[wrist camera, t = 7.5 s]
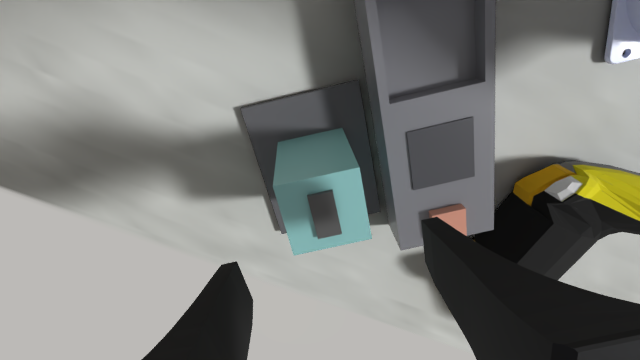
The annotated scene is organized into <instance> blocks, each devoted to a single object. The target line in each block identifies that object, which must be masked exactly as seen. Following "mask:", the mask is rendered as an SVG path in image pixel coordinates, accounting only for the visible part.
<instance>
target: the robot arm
mask: <svg viewBox="0 0 640 360" xmlns="http://www.w3.org/2000/svg"><path fill="white" fill-rule="evenodd" d="M624 50H625V54H624V55H623V56H622V53H623V51H624ZM639 58H640V0H613V2H612V8H611V15H610V22H609V29H608V36H607V43H606V50H605V61H606V62H607V63H610V64H618V63H622V62H626V61H630V60H635V59H639ZM421 225H422V234H423V244H424V253H425V262H426V265H427V267H428V269H429V272H430V274H431V276H432V279H433V281H434V283H435V286H436V287H437V289H438V291H439V293H440V294H441V296H442V298H443V299H444V301H445V303H446V305H447V306H448V308H449V310H450V311H451V313H452V315H453V317H454V318H455V320H456V322H457V323H458V325H459V327H460V328H461V330H462V332H463V334H464V335H465V337H466V339H467V341H468V343H469V345H470V346H471V348H472V350H473V353H474V355H475V357H476V359H477V360H640V304H637V303H633V302H629V301H625V300H620V299H616V298H612V297H608V296H604V295H601V294H598V293H594V292H591V291H587V290H584V289H581V288H578V287H575V286H572V285H568V284H565V283H563V282H560V281H557V280H555V279H552V278H549V277H546V276H544V275H541V274H539V273H536V272H534V271H532V270H529V269H527V268H525V267H523V266H520V265H518V264H516V263H514V262H512V261H510V260H508V259H506V258H504V257H502V256H500V255H498V254H496V253H494V252H492V251H491V250H489V249H487V248H485V247H483V246H482V245H480V244H478V243H477V242H475V241H473V240H472V239H470V238H469V237H467V236H466V235H464V234H462V233H461V232H459V231H458V230H456V229H455V228H453V227H452V226H450V225H449V224H447V223H446V222H444V221H443V220H441V219H440V218H438V217H433V218H429V219H424V220H421ZM252 319H253V299H252V296H251V294H250V292H249V289H248V287H247V285H246V283H245V280H244V277H243V275H242V273H241V270H240V268H239V266H238V263H237V261H236V262H232V263H227V264H223V265H221V266H220V267H219V269H218V270H217V271H216V273H215V274H214V275H213V277H212V278H211V279H210V281H209V282H208V284H207V285H206V286H205V288H204V289H203V290H202V292H201V293H200V294H199V296H198V297H197V298H196V300H195V301H194V302H193V303H192V305H191V306H190V307H189V309H188V310H187V311H186V312H185V313H184V315H183V316H182V317H181V318H180V319H179V321H178V322H177V323H176V324H175V325H174V327H173V328H172V329H171V330H170V331H169V332H168V333H167V335H166V336H165V337H164V338H163V339H162V340H161V341H160V342H159V343H158V344H157V345H156V346H155V347H154V348H153V349H152V350H151V351H150V352H149V353H148V354H147V355H146V356H145V357H144V358H143V359H142V360H247V356H248V349H249V343H250V337H251V330H252Z"/></svg>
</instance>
